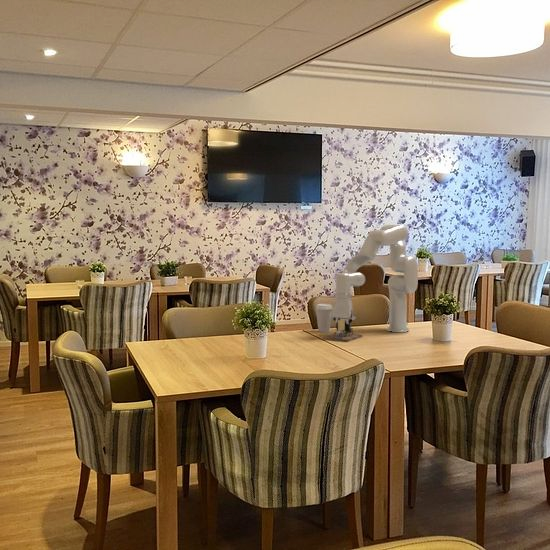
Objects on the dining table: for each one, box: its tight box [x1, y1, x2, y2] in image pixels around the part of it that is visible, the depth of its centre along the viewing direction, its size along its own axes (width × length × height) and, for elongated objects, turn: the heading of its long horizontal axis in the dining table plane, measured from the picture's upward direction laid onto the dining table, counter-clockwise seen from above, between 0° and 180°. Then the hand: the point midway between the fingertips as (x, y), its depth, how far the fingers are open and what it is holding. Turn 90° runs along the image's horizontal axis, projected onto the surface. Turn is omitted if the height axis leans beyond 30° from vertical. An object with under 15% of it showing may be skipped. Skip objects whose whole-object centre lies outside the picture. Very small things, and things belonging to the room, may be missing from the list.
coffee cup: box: [315, 303, 333, 333], centre depth 349 cm, size 10×10×15 cm
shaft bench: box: [322, 326, 363, 343], centre depth 329 cm, size 18×14×4 cm
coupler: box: [337, 318, 347, 333], centre depth 329 cm, size 4×5×6 cm
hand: (343, 330), depth 329 cm, fingers closed on coupler, 4 cm apart
